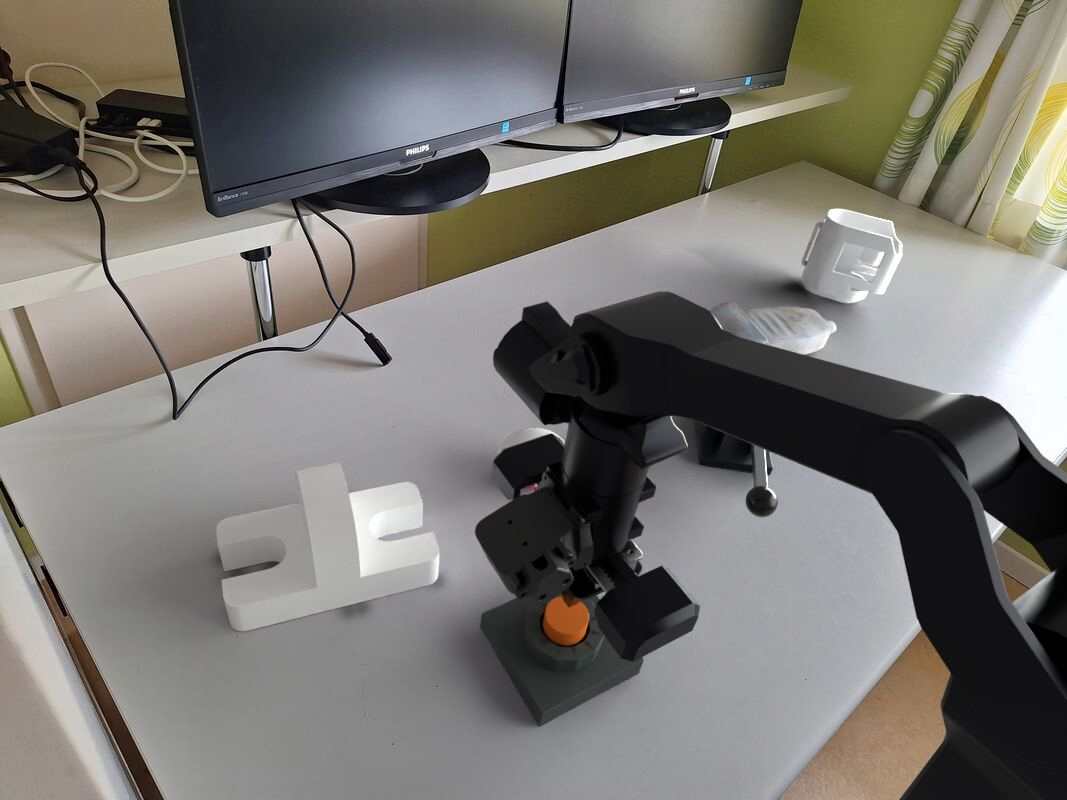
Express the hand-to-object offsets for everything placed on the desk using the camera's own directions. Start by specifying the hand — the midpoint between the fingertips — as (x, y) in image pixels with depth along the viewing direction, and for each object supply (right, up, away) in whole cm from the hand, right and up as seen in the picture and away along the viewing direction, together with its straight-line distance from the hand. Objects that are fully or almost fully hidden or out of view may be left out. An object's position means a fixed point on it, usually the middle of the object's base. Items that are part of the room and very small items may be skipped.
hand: (570, 602), depth 61 cm
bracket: (+20, +12, +28) cm, 36 cm away
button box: (-1, -5, +5) cm, 7 cm away
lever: (+20, +11, +19) cm, 29 cm away
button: (0, -3, +2) cm, 4 cm away
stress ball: (-3, +8, +19) cm, 21 cm away
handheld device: (+29, +24, +44) cm, 58 cm away
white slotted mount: (-21, +1, +9) cm, 23 cm away
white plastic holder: (+44, +32, +56) cm, 78 cm away
